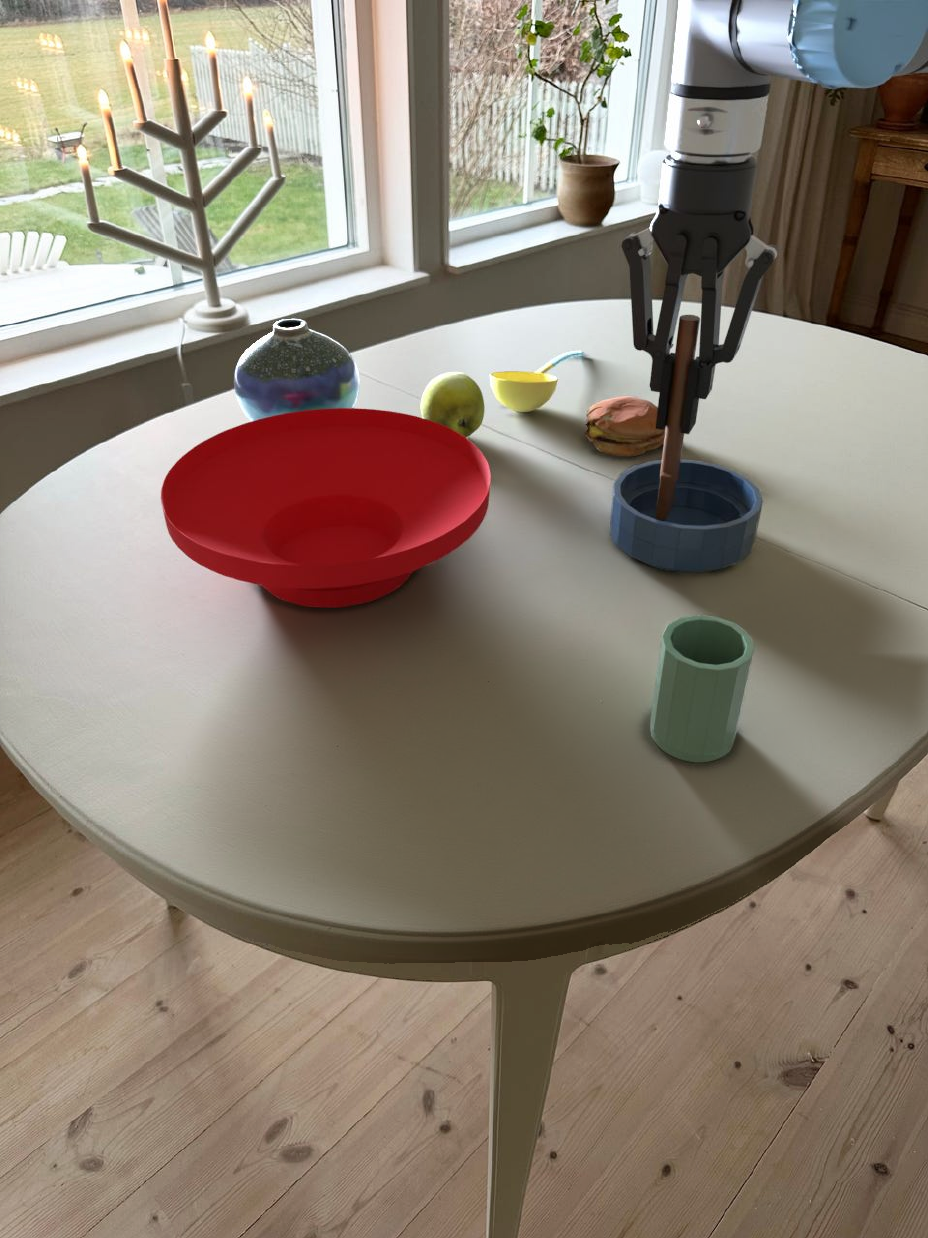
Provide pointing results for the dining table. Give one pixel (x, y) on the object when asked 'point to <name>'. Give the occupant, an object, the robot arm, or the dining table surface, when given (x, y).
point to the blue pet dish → (686, 517)
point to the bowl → (326, 502)
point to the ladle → (527, 386)
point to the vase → (295, 373)
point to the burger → (624, 426)
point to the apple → (454, 403)
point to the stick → (676, 413)
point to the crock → (700, 687)
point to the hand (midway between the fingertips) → (675, 425)
